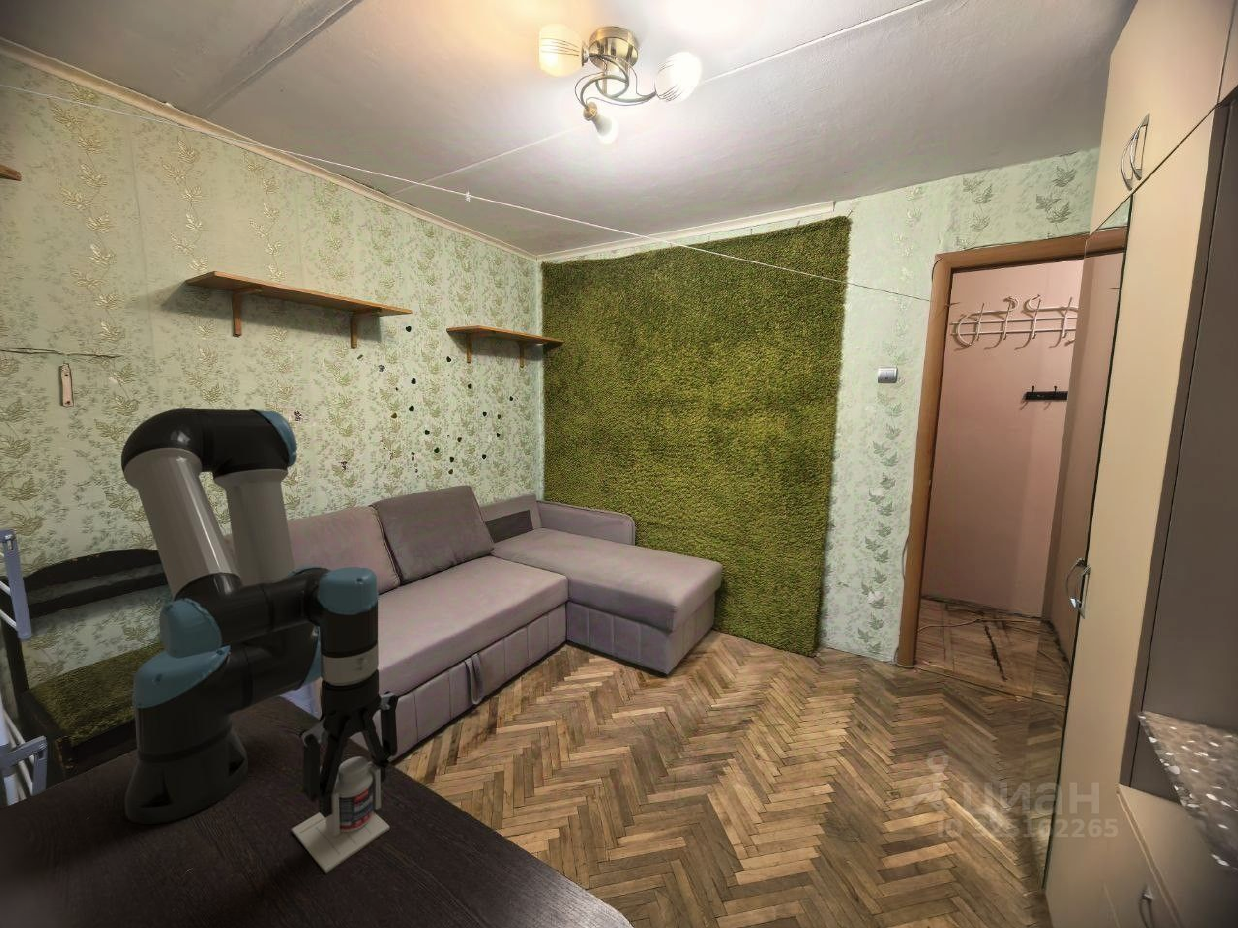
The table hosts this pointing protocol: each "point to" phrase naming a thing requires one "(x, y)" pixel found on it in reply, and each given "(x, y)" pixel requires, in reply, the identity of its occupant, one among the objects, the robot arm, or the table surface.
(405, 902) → the table surface
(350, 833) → the paper
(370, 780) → the pill bottle
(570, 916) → the table surface
